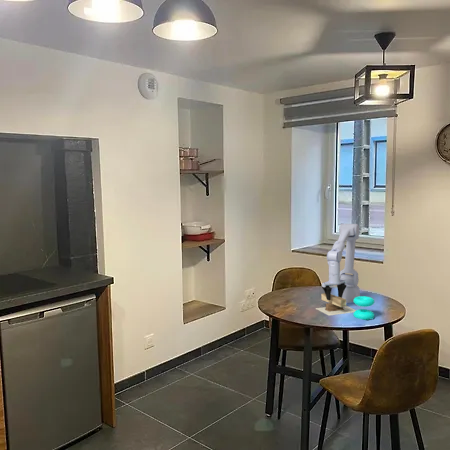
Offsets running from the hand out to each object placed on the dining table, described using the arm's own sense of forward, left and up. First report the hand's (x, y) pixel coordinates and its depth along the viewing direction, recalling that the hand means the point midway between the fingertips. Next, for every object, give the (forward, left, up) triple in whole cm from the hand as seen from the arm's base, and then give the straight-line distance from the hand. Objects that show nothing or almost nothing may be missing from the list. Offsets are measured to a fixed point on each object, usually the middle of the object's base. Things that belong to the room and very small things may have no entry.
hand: (334, 298), depth 244 cm
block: (0, 0, -6) cm, 6 cm away
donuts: (-7, +16, -7) cm, 19 cm away
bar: (0, -1, -2) cm, 2 cm away
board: (-1, +1, -6) cm, 7 cm away
